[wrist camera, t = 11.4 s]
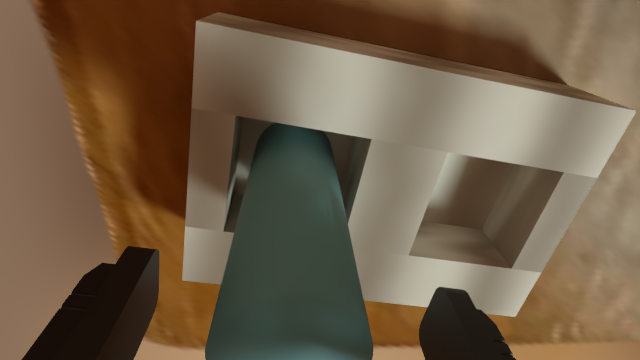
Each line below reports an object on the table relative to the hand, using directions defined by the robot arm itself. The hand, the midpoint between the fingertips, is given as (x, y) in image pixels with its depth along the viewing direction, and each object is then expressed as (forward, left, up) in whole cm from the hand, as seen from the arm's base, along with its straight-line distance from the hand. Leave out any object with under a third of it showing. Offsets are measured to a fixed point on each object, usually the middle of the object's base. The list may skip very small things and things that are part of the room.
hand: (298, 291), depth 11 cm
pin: (0, 0, -10) cm, 10 cm away
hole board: (-4, 0, -11) cm, 12 cm away
